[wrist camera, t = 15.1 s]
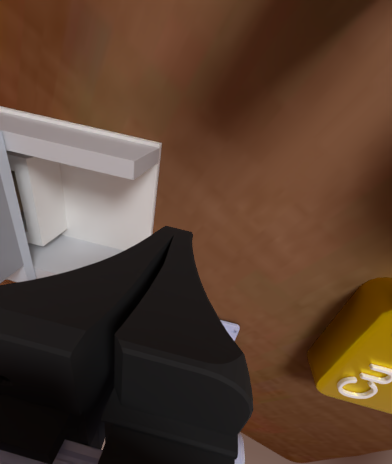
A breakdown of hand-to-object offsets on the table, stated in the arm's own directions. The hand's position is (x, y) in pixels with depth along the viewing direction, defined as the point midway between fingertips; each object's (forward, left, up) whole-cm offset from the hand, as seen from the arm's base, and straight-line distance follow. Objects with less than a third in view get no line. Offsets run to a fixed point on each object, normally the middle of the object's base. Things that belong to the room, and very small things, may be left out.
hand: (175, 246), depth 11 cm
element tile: (-13, -25, -11) cm, 30 cm away
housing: (-4, +13, -10) cm, 17 cm away
